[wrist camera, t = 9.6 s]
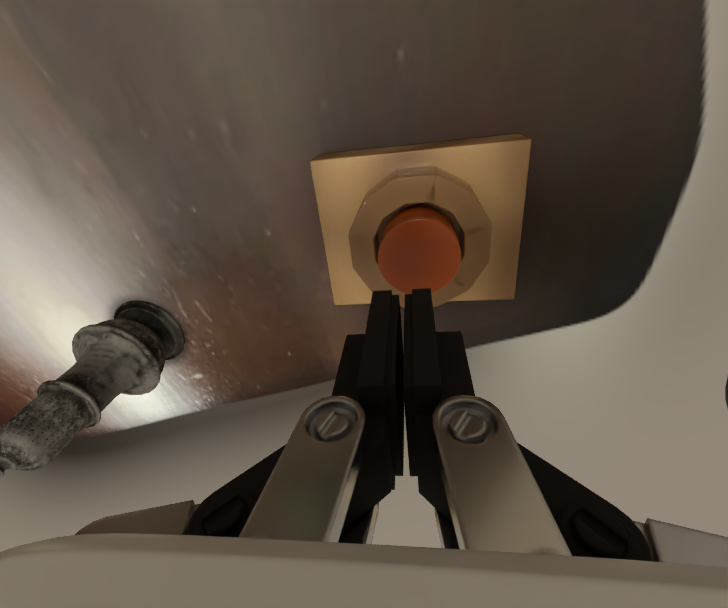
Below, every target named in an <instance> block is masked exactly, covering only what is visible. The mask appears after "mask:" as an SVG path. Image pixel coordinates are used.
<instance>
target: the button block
mask: <svg viewBox="0 0 728 608" xmlns="http://www.w3.org/2000/svg"><path fill="white" fill-rule="evenodd" d="M530 149H531V139H530V138H528V137H525V136H523V135H521V134H510V135H500V136H490V137H481V138H471V139H461V140H451V141H442V142H432V143H422V144H412V145H403V146H393V147H383V148H373V149H364V150H354V151H344V152H334V153H325V154H320V155H318V156H317V157H315V158H314V159H312V160H311V161H310V166H311V171H312V177H313V183H314V189H315V194H316V200H317V206H318V212H319V217H320V223H321V229H322V235H323V240H324V246H325V252H326V258H327V264H328V269H329V275H330V281H331V287H332V292H333V298H334V304H335V305H348V304H371V298H372V293H373V291H381V290H392V295H399V299H400V306H401V307H405V294H408V293H404V292H402V291H399V290H397V289H396V288H394V287H393V286H391V285H390V284H389V283H388V282H387V281H386V279H385V278H384V277H383V275H382V273H381V271H380V268H379V265H378V250H379V246H380V241H381V237H382V233H383V231H384V229H385V227H386V225H387V224H388V222H389V221H390V220H391V219H392V218H393V217H394V216H396V215H397V214H398V213H400V212H402V211H404V210H407V209H410V208H416V207H424V208H430V209H433V210H436V211H438V212H440V213H442V214H443V215H444V216H446V217H447V218H448V219H449V220H450V222H451V223H452V225H453V226H454V228H455V231H456V234H457V238H458V241H459V245H460V249H461V262H460V266H459V269H458V271H457V273H456V275H455V276H454V278H453V279H452V280H451V281H450V282H449V283H448V284H447V285H446V286H445V287H443V288H441V289H440V290H438V291H436V292H433V293H431V294H432V303H433V307H437V306H439V305H441V304H443V303H445V302H447V301H469V300H499V299H514V296H515V287H516V277H517V268H518V259H519V250H520V241H521V231H522V222H523V213H524V204H525V195H526V186H527V176H528V167H529V158H530Z"/></svg>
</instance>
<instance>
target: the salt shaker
mask: <svg viewBox="0 0 728 608" xmlns="http://www.w3.org/2000/svg"><path fill="white" fill-rule="evenodd" d="M72 347H73V353H74V356H75V358H76V361H77V362H76V363H75V365H74V366H73V367H71V368H70V369H69V370H68V371H66V372H65V373H64V374H63V375H61V376H60V377H59V378H58V379H57V380H52V381H46V382H44V383H42V384H41V385H40V386H39V387H38V391H37V393H38V397H37V398H35V399H34V400H33V401H32V402H31V403H29V404H28V405H27V406H26V407H24V408H23V409H22V410H21V411H20V412H18V413H17V414H16V415H15V416H13V417H12V418H11V419H10V420H9V421H7V422H6V423H5V424H4V425H2V426H1V427H0V476H4V471H5V470H6V469H17V470H35V469H38V468H41V467H43V466H45V465H46V464H48V463H49V462H50V461H52V460H53V458H55V457H56V456H57V455H58V454H59V453H60V451H61V450H63V449H64V448H65V447H66V445H67V444H68V443H69V442H70V441H71V440H72V439H73V438H74V437H75V436H76V435H77V434H78V433H79V432H80V431H81V430H82V429H83V428H85V427H92V426H95V425H96V424H97V423H99V421H100V419H101V412H102V411H103V410H104V409H105V407H106V406H107V405H108V404H109V403H110V402H111V401H112V400H113V399H114V398H115V397H116V396H118V395H119V394H120V393H122V394H128V395H142V394H145V393H148V392H150V391H152V390H153V389H154V388H156V386H157V385H158V383H159V381H160V375H161V372H162V371H163V368H164V364H165V360H169V359H172V358H175V357H176V356H177V355H179V354H180V353H181V351H182V349H183V348H184V336H183V332H182V330H181V328H180V326H179V325H178V323H177V322H176V321H175V319H174V318H173V317H172V316H171V315H169V314H168V313H167V312H166V311H164V310H163V309H161V308H159V307H158V306H156V305H153V304H150V303H148V302H142V301H129V302H127V303H124V304H122V305H121V306H120V307H119V308H118V309H117V310H116V312H115V315H114V319H112V320H108V321H104V322H101V323H98V324H96V325H88V326H86V327H83V328H81V329H80V330H79V331H78V332H77V333H76V334H75V335H74V338H73V341H72Z"/></svg>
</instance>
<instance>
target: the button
mask: <svg viewBox="0 0 728 608" xmlns="http://www.w3.org/2000/svg"><path fill="white" fill-rule="evenodd" d="M460 262H461V249H460V245H459V241H458V238H457V234H456V231H455V228H454V226H453V225H452V223H451V222H450V220H449V219H448V218H447V217H446V216H444V215H443V214H442V213H440V212H438V211H436V210H433V209H430V208H424V207H416V208H410V209H407V210H404V211H402V212H400V213H398V214H397V215H396V216H394V217H393V218H392V219H391V220H390V221H389V222H388V224H387V225H386V227H385V229H384V231H383V233H382V237H381V241H380V246H379V250H378V265H379V268H380V271H381V273H382V275H383V277H384V278H385V279H386V281H387V282H388V283H389V284H390V285H391V286H393V287H394V288H396V289H397V290H399V291H402V292H404V293H408V294H412V289H423V288H431V293H433V292H436V291H438V290H440V289H441V288H443V287H445V286H446V285H447V284H448V283H449V282H450V281H451V280H452V279H453V278H454V276H455V275H456V273H457V271H458V269H459V266H460Z"/></svg>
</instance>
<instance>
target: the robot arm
mask: <svg viewBox="0 0 728 608" xmlns="http://www.w3.org/2000/svg"><path fill="white" fill-rule="evenodd" d="M404 404H405V416H406V431H407V443H408V457H409V469H410V476H418V486H419V493H420V494H421V495H422V496H423V497H424V498H426V500H427V501H429V502H430V503H431V504H432V505H433V506H434V507H435V517H436V522H437V527H438V532H439V536H440V541H441V546H442V548H426V547H408V546H391V545H372V544H371V543H372V539H373V534H374V530H375V525H376V521H377V516H378V508H379V502H380V501H381V500H382V499H383V498H384V497H385V496H386V495H388V494H389V493H390V492H391V490H394V489H395V476H403V457H404V456H403V453H404V452H403V451H404V450H403V449H404ZM0 608H728V537H724V536H719V535H715V534H710V533H707V532H703V531H698V530H694V529H690V528H686V527H682V526H678V525H673V524H669V523H665V522H661V521H656V520H653V519H647V520H646V522H645V524H643V523H640V522H636V521H632V520H631V519H630V518H629V517H628V516H626V515H625V514H624V513H623V512H622V511H620V510H619V509H618V508H617V507H615V506H614V505H612V504H611V503H609V502H608V501H606V500H604V499H603V498H601V497H600V496H598V495H596V494H595V493H594V492H592V491H590V490H589V489H588V488H586V487H584V486H583V485H581V484H580V483H578V482H577V481H575V480H573V479H572V478H571V477H569V476H568V475H566V474H564V473H563V472H561V471H560V470H558V469H557V468H555V467H554V466H552V465H551V464H549V463H548V462H546V461H545V460H543V459H541V458H540V457H538V456H537V455H535V454H534V453H532V452H531V451H529V450H528V449H526V448H525V447H523V446H522V445H520V444H518V443H517V442H516V440H515V438H514V436H513V434H512V432H511V430H510V428H509V426H508V424H507V422H506V420H505V418H504V416H503V415H502V413H501V412H500V410H499V409H498V408H497V407H496V406H494V405H493V404H492V403H491V402H489V401H486V400H484V399H482V398H480V397H475V394H474V389H473V384H472V380H471V375H470V370H469V366H468V361H467V356H466V352H465V347H464V342H463V338H462V334H461V332H460V331H455V332H436V331H435V322H434V313H433V303H432V294H431V288H423V289H412V294H405V309H404V355H403V341H402V327H401V313H400V299H399V295H392V290H381V291H373V293H372V298H371V304H370V310H369V316H368V321H367V327H366V333H365V334H355V335H347V337H346V340H345V344H344V348H343V352H342V356H341V360H340V364H339V368H338V372H337V376H336V381H335V385H334V389H333V393H332V396H330V397H326V398H322V399H320V400H318V401H316V402H314V403H313V404H311V405H310V406H309V407H308V408H307V409H306V410H305V411H304V412H303V414H302V415H301V417H300V419H299V421H298V423H297V425H296V427H295V428H294V431H293V432H292V434H291V436H290V438H289V440H288V442H287V444H286V445H284V446H283V447H281V448H280V449H278V450H277V451H275V452H274V453H272V454H271V455H269V456H268V457H267V458H265V459H263V460H262V461H260V462H259V463H257V464H256V465H254V466H253V467H251V468H250V469H248V470H247V471H245V472H244V473H242V474H241V475H239V476H238V477H236V478H235V479H233V480H232V481H230V482H229V483H227V484H226V485H224V486H223V487H221V488H220V489H218V490H217V491H215V492H214V493H212V494H211V495H210V496H209V497H207V498H206V499H205V500H204V501H203V502H202V503H201V504H197V505H195V503H194V501H193V500H191V501H186V502H180V503H175V504H170V505H165V506H160V507H155V508H150V509H145V510H140V511H134V512H129V513H125V514H119V515H114V516H109V517H105V518H102V519H99V520H96V521H93V522H92V523H90V524H89V525H87V526H85V527H84V528H82V529H81V530H79V531H78V532H77V533H76V534H75V535H72V536H64V537H56V538H52V539H47V540H42V541H37V542H33V543H29V544H25V545H20V546H17V547H14V548H11V549H8V550H5V551H2V552H0Z"/></svg>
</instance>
